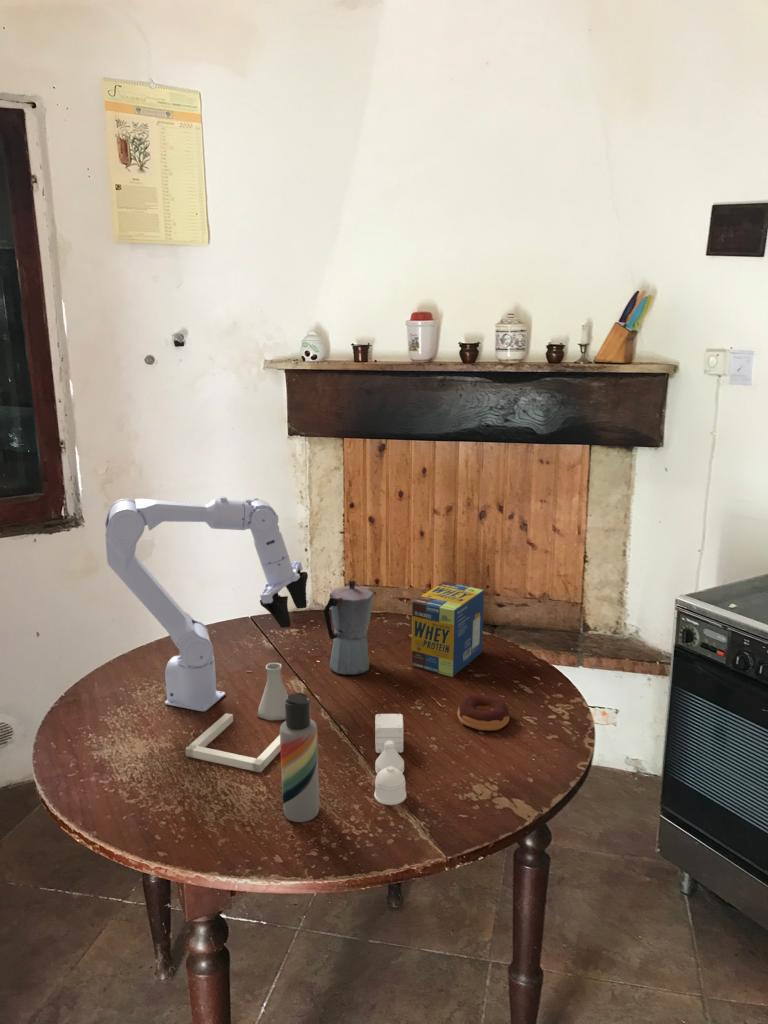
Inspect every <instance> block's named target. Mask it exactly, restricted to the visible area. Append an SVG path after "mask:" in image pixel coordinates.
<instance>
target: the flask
mask: <svg viewBox="0 0 768 1024" xmlns="http://www.w3.org/2000/svg"><path fill="white" fill-rule="evenodd" d="M282 667H283V665H282V663H279V662H269V663H267V664H266V665H265V671H266V672H267V673H266V674H267V675H266V676H267V678H266V684H265V687H264V690H263V694H262V697H261V700H260V702H259V703H260V704H259V705H258V709H257V718H260V719H264V720H266V721H283V720H284V721H286V714H285V700H286V698H287V697H288V696H289V694H288V692H287V690H286V687H285V685H284V683H283V679H282V674H281V672H282V671H281V670H282V669H283V668H282Z"/></svg>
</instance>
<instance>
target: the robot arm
mask: <svg viewBox="0 0 768 1024" xmlns="http://www.w3.org/2000/svg"><path fill="white" fill-rule="evenodd" d="M163 522H167V523H168V522H175V523H176V522H178V523H179V522H180V523H181V522H185V523H187V522H189V523H191V522H192V523H196V522H197V523H206V524H207V525H208V527H210V529H212V530H213V529H215V530H231V531H246V530H250V532H251V534H252V538H253V544H254V546H255V550H256V552H257V553H256V554H257V556H258V558H259V562H260V565H261V567H262V571H263V574H264V576H265V579H266V582H265V583H264V587H263V590H262V592H261V593H260V595H259V597H260V599H259V603H260V605H261V607H263V608H264V609H265V610H267V612H269V613H270V614H271V616H272V617H273V618H274V619H275V621H276V623H277V624H278V626H280V628H282V629H283V628H290V627H291V623H292V622H291V618H290V614H289V608H288V600H289V596H287V595H285V596H281V595H280V594H279V593H280V591H282V589H283V588H286V589H287V591H288V593H289V594H290V596H291V600H292V602H293V603H294V606H295V608H296V609H297V610H298V609H306V608H307V607H308V606H307V603H308V602H307V583H308V578H309V577H308V576H309V575H308V572H307V571H302V570H303V569H304V568H303V565H302V562H301V561H300V560H297V561H296V560H295V561H291V558H290V556H289V553H288V552H289V551H288V549H287V546H286V544H285V541H284V537H283V534H282V532H281V531H280V527H279V525H278V523H279V515H278V514H277V513H276V511H275V510H274V508H273V506H271V505H270V504H269V502H267V501H265V500H263V499H259V498H253V499H251V498H246V499H245V500H233V499H228V498H227V496H219V498H218V499H216V498H214V499H212V500H210V501H209V502H208V503H206V504H200V503H199V504H198V503H191V502H190V503H187V502H179V501H169V500H160V499H151V498H150V499H149V498H135V499H134V500H133V499H130V498H120V499H118V500H116V501H114V502H113V503H112V504H111V506H110V507H109V509H108V513H107V515H106V519H105V522H104V526H105V528H104V529H105V534H104V535H105V537H104V538H105V548H106V549H105V550H106V561H107V565H108V566H109V567H110V569H111V570H113V572H114V573H115V574H116V575H117V576H118V578H119V579H120V580H121V581H122V582H123V583H124V584H125V585H126V587H127V588H128V589H129V590H130V591H131V592H132V594H133V595H134V596H136V598H137V599H138V600H139V601H140V602H141V603H142V604H143V605H144V607H145V608H146V609H147V610H148V611H149V612H150V614H151V615H153V617H154V618H155V619H156V620H157V621H158V622H159V624H160V625H161V626H162V627H163V628H164V629H165V630H166V632H167V634H168V635H169V637H170V638H171V640H172V642H173V644H174V645H175V646H176V648H177V649H178V650H179V654H178V655H174V656H172V657H171V658H170V659H169V660H168V662H167V664H166V667H165V671H164V673H165V674H164V678H165V689H166V700H165V701H164V704H165V705H168V706H172V707H177V708H182V709H183V708H184V709H188V710H193V711H199V712H207V710H209V709H210V708H211V707H213V706H214V704H216V703H217V702H218V701H220V700H221V699H222V698H223V697H224V696H225V695H226V692H225V691H220V690H217V679H216V664H215V655H214V646H213V643H212V642H211V638H210V636H209V629H208V627H207V625H205V624H204V623H203V622H201V621H199V620H196V619H195V618H193V617H192V616H191V615H190V614H189V613H187V612H186V611H184V610H183V608H182V607H181V606H180V605H179V604H178V603H177V602H176V600H175V599H174V598H173V597H172V596H171V594H170V593H169V592H168V591H167V590H166V589H165V588H164V587H163V585H162V584H161V583H160V582H159V581H158V579H156V577H155V576H154V575H153V574H152V572H151V571H149V569H148V568H147V567H146V566H145V564H144V563H143V562H142V561H141V560H140V559H139V558H138V557H137V555H136V554H135V553H136V549H137V544H138V542H139V540H140V539H141V537H142V536H143V534H144V532H145V527H146V526H147V528H148V529H147V530H148V531H152V530H154V529H155V528H156V527H158V526H159V525H160V524H161V523H163Z"/></svg>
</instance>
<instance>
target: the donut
mask: <svg viewBox="0 0 768 1024" xmlns="http://www.w3.org/2000/svg"><path fill="white" fill-rule="evenodd" d="M457 708H458V710H457V711H456V714H457V717H458V720H459V722H461V723H462V724H463V725H465V726H467V727H470V728H472V729H474V730H478V731H484V732H485V731H486V732H493V731H499V730H501V729H502V728H504V727H505V726H506V725H508V723H509V721H510V715H509V713H510V711H509V707H508V705H507V704H506V702H505V701H503V699H500V698H497V697H495V696H491V695H486V694H485V695H481V694H471V695H466V697H463V698H462V699H461V700H460V701H459V703H458V706H457Z"/></svg>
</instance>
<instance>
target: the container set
mask: <svg viewBox="0 0 768 1024" xmlns="http://www.w3.org/2000/svg"><path fill="white" fill-rule="evenodd" d="M374 719H375V720H374V724H375V725H374V726H375V727H374V728H375V729H374V730H375V731H374V734H375V735H374V736H375V737H374V738H375V744H374V745H375V746H374V748H375V750H374V751H375V752H376V753H377V754H379V756H378V757H377V758H376V760H375V762H374V763H375V764H374V765H375V766H374V768H375V772H376V777H375V781H374V785H375V789H374V793H373V795H374V799H375V801H377V802H378V803H380V804H382V805H386V806H394V805H395V806H396V805H398V804H400V803H402V802H404V801H405V800H406V798H407V790H406V779H405V778H406V777H405V775H404V774H403V773H404V771H405V760H404V759H403V758H402V756H401V755H400V754H399V753H401V754H402V753H403V752H404V716H403V714H401V713H377V714H375V718H374Z"/></svg>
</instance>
